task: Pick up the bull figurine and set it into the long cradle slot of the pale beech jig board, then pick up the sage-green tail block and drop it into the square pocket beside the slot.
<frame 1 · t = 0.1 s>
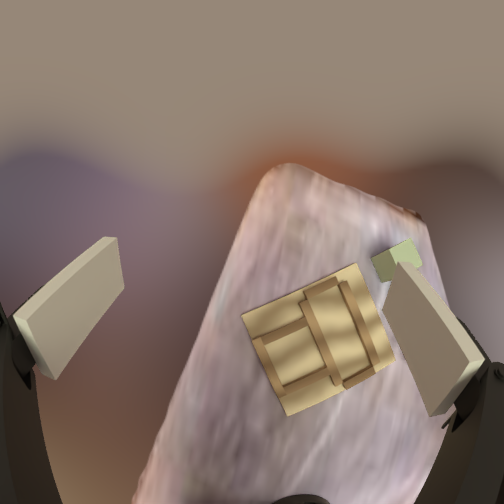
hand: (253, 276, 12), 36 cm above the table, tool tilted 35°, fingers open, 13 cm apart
beech jig board: (323, 341, 46), on the table
sage-green tail block: (386, 265, 48), on the table
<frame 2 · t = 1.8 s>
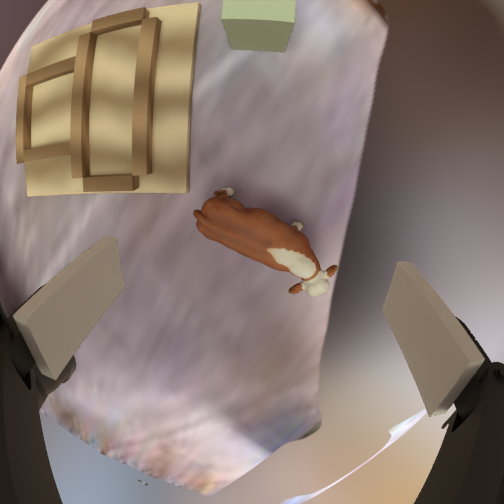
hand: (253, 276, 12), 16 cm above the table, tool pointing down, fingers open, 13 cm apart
beech jig board: (94, 102, 23), on the table
sage-green tail block: (259, 29, 20), on the table
bull figurine: (267, 223, 28), on the table
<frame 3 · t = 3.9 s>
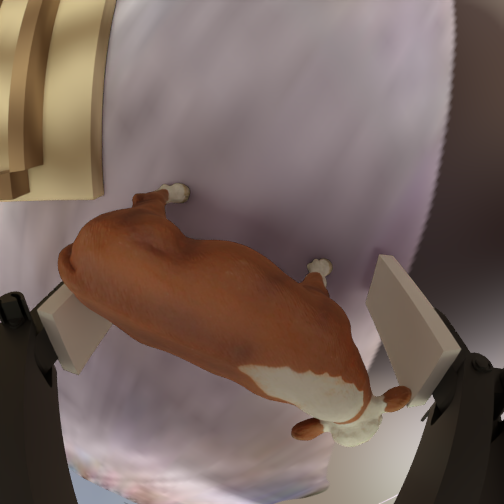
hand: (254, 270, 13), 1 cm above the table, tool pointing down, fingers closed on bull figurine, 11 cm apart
bull figurine: (259, 259, 14), on the table, touching gripper
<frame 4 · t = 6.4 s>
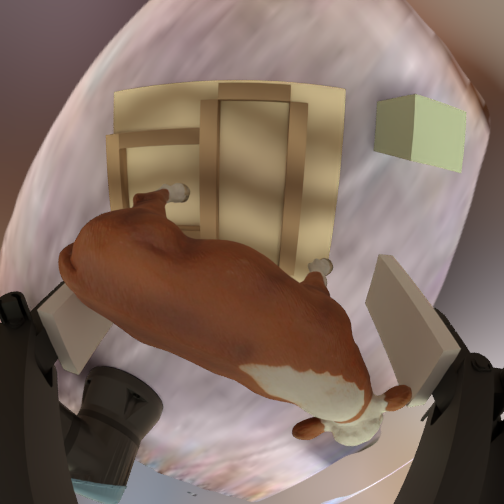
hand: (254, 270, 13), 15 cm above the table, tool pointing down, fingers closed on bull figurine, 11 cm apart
beech jig board: (220, 184, 26), on the table
sage-green tail block: (398, 130, 23), on the table
bull figurine: (259, 259, 14), point 14 cm above the table, touching gripper
when the fingers open (5 cm above the table, at t = 9.0 s): bull figurine drops 2 cm, resting on beech jig board.
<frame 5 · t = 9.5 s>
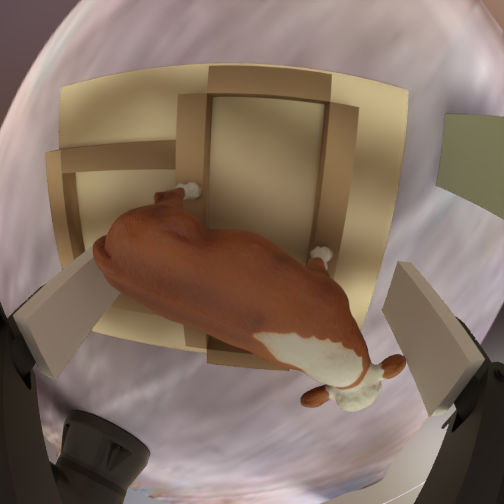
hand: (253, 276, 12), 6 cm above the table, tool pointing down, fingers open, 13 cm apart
beech jig board: (211, 227, 18), on the table
sage-green tail block: (467, 158, 14), on the table
bull figurine: (266, 249, 15), point 2 cm above the table, touching beech jig board
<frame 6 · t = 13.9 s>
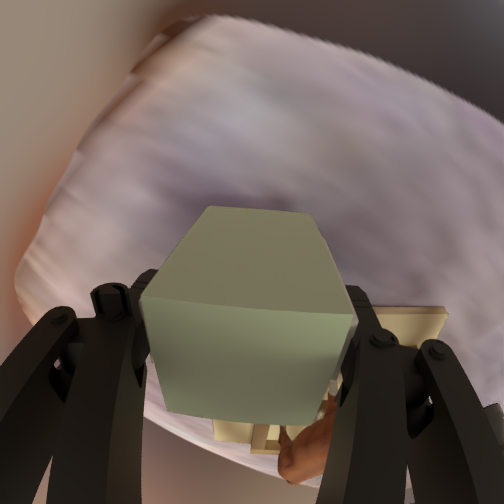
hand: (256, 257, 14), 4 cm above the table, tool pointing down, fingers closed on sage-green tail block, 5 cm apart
beech jig board: (313, 392, 25), on the table
sage-green tail block: (256, 256, 14), point 4 cm above the table, touching gripper
bull figurine: (325, 390, 21), point 2 cm above the table, touching beech jig board
when the fingers open (4 cm above the table, at t = 17.6 s): sage-green tail block drops 2 cm, resting on beech jig board.
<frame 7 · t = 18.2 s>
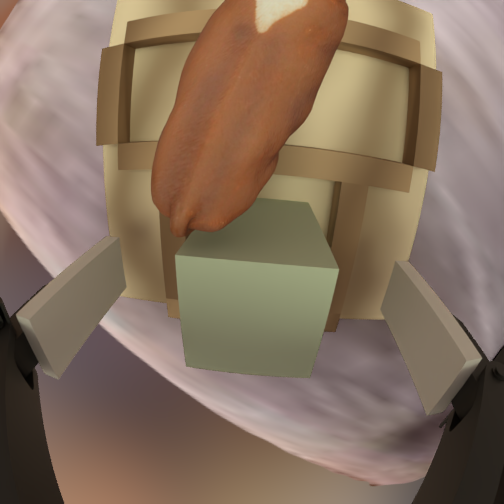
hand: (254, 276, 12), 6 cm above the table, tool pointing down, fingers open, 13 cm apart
beech jig board: (266, 142, 15), on the table
sage-green tail block: (260, 239, 17), point 1 cm above the table, touching beech jig board
bull figurine: (272, 77, 12), point 2 cm above the table, touching beech jig board
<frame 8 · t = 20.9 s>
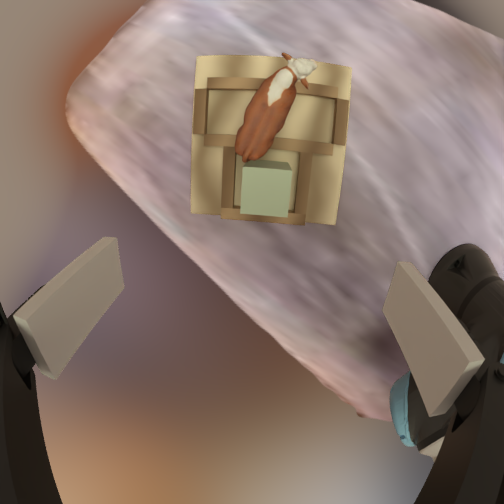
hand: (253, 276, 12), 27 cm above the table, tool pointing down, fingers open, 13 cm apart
beech jig board: (269, 136, 34), on the table
sage-green tail block: (267, 179, 36), point 1 cm above the table, touching beech jig board
bull figurine: (272, 109, 31), point 2 cm above the table, touching beech jig board
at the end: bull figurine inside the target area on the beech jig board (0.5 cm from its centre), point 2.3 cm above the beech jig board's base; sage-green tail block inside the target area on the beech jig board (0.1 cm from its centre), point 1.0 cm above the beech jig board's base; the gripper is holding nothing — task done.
